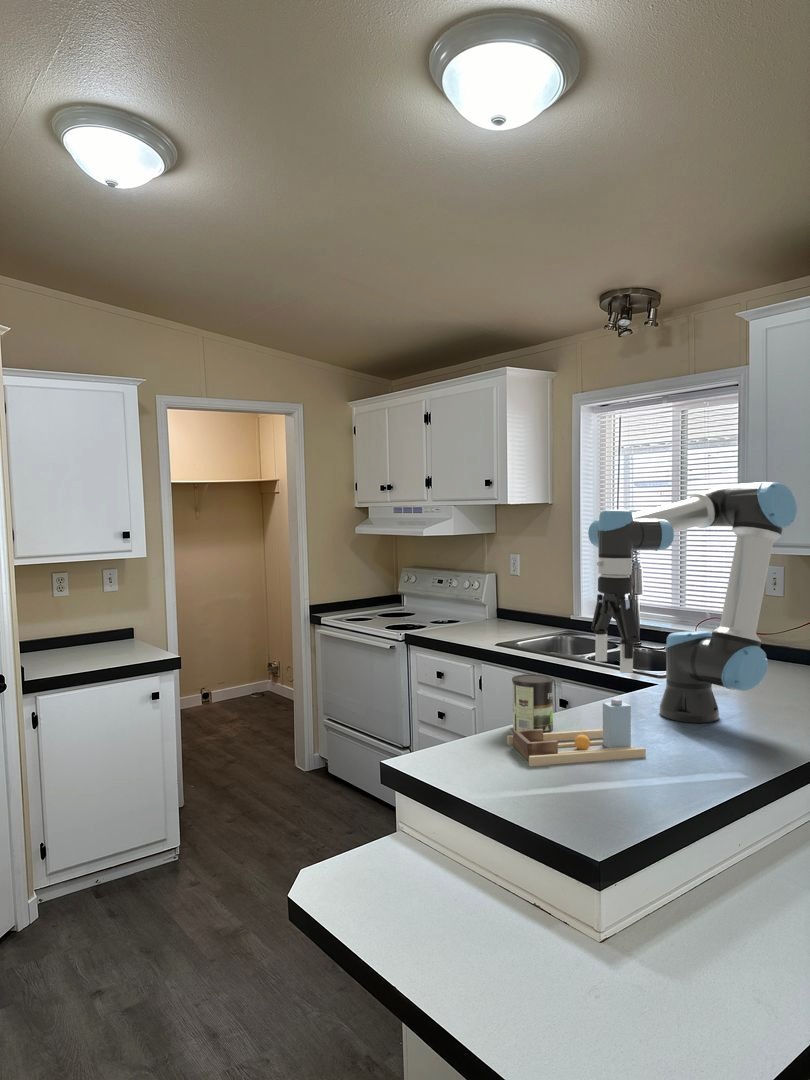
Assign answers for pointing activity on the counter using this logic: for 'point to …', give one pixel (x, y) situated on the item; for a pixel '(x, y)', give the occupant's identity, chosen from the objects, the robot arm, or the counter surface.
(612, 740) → the block
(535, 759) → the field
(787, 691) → the counter surface
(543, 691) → the coffee can
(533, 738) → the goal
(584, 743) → the ball
